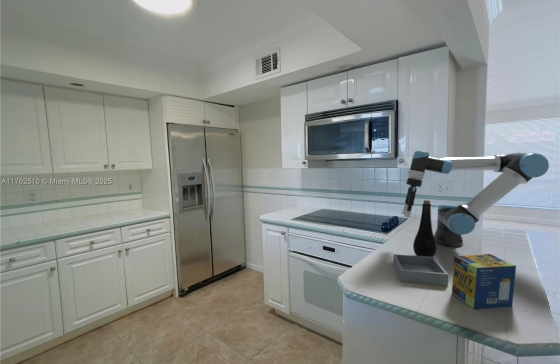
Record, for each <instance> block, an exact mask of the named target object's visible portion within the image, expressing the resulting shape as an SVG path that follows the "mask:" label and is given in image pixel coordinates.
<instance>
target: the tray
mask: <svg viewBox="0 0 560 364" xmlns="http://www.w3.org/2000/svg"><path fill="white" fill-rule="evenodd" d="M392 255H393V258H392V264H393V267H394V268H395V269H396V270H395V271H396V274H397V277H398V279H399V282H404V283H411V284H423V285H433V286H434V285H435V286H443V287H445V286H446V287H448V286H449V273H448V271H446V270H445V269H444V267H443V266H442V265H441V264H440V262H439V261H438V260H437V259H436V258H435V256H433V257H426V256H416V255H412V254H411V255H409V254H397V253H394V254H392Z"/></svg>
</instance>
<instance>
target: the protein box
mask: <svg viewBox="0 0 560 364" xmlns="http://www.w3.org/2000/svg"><path fill="white" fill-rule="evenodd" d="M516 270H517V265H516V264H513V263H511V262H509V261H506V260H505V259H501V258H499V257H497V256H495V255H493V254H490V253H488V254H487V253H484V254H468V255H467V254H466V255H454V256H453V270H452V271H453V272H452V284H451V285H452V286H451V294H452V295H453V296H454V297H456V298H457V299H458V300H460V301H461V302H463V303H464V304H466V305H467V307H470V308H471V309H472V310H481V309H482V310H483V309H484V310H485V309H495V308H498V309H499V308H508V307H509V308H511V307H513V303H514V302H513V301H514V290H515V281H516V272H517V271H516Z"/></svg>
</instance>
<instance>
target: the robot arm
mask: <svg viewBox="0 0 560 364" xmlns="http://www.w3.org/2000/svg"><path fill="white" fill-rule="evenodd" d="M549 168H550V162H549V160H548V159H547V157H546V156H545V155H543V154H540V153H537V152H536V153H535V152H514V153H507V154H505V153H504V154H495V155H493V156H475V157H474V156H470V157H467V156H466V157H465V156H464V157H461V156H460V157H433V156H430V153H429V152H428V151H425V150H424V151H423V150H416V151H414V153H413V155H412V160H411V164H410V167H409V171H408V172H407V174H408V175H407V180H406V183H405V184H406V185H408V186H409V187H408V188H407V192H406V197H405V199H404V204H403V205H404V206H403V209H402V214H403V217H406V218H409V219H410V217H411V213H412V209H413V206H414V204H415V199H416V193H417V187H418V188H421V187H422V184H423V180H424V177H425V173H426V172H425V171H429V172H434V173H439V174H445V175H449V174H450V173H451V171H457V172H458V171H493V172H494V173H500V175H498V176H497V177H496V178H495V179H493V180H492V181H491V182H489V184H488V185H486V187H484V188H483V189H482V190H481V191H479V192H478V193H477V194H475V195H474V196H473V197H472V198H471V199H469V200H468V201H467V202H466V203H464V204H459V205H458V204H439V205H437V206H438V207H437V219H436V220H437V222H436V224H437V226H436V230H435V232H434V233H433V235H434V238H435V242H436V244H437V245H441V246H447V247H453V248H454V247H462V246H464V240H463V237H462V236H465V235H468V234H471V233H472V232H473V231H474V230H475V227H476V224H477V223H478V222H480V220H481V219H480V216H482V214H484V213H485V212H487V211H488V210H489V209H490V208H491V207H493V206H494V205H495V204H497V203H498V202H499V201H500V200H501V199H502V198H504V197H505V196H506V195H508V194H509V193H510V192H512V191H513V190H514V189H515V188H516V187H518V186H519V185H521V184H522V185H523V184H527V183H528V182H529V181H531V180H532V179H533V178H539V177H542V176H543V175H545V174H546V173H547V172H548V171H549Z"/></svg>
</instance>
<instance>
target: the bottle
mask: <svg viewBox="0 0 560 364" xmlns="http://www.w3.org/2000/svg"><path fill="white" fill-rule="evenodd" d="M421 205H422V207H421V208H422V210H421V216H420V222H419V226H418V231H417V233H416V234H415V237H414V239H413V243H412V245H413V246H412V247H413V248H412V249H413V251H414V254H415V256H426V257H435V255H436V252H437V243H436V242H435V238H434V232H433V226H432V225H433V224H432V214H431V213H432V209H431V207H432V204H431V201H430V200H423V202H422V204H421Z"/></svg>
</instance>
